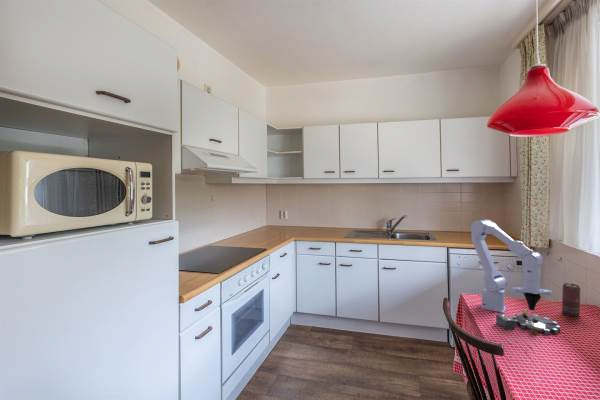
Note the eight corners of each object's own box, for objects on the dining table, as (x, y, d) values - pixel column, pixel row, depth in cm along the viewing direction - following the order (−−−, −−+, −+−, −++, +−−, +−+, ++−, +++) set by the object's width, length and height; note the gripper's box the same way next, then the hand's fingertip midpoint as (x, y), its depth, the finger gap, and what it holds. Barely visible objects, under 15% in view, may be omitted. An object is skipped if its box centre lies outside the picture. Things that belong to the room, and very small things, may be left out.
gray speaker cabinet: (514, 329, 128) (514, 320, 128) (505, 330, 128) (505, 320, 128) (505, 323, 134) (505, 314, 134) (496, 323, 134) (496, 314, 134)
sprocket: (534, 335, 123) (534, 325, 123) (504, 317, 139) (504, 309, 139) (570, 332, 124) (570, 323, 124) (536, 315, 140) (536, 307, 140)
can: (571, 311, 144) (572, 282, 144) (583, 317, 138) (584, 287, 137) (558, 311, 145) (559, 282, 144) (568, 317, 139) (569, 287, 138)
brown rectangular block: (531, 333, 125) (531, 327, 125) (531, 332, 126) (531, 326, 125) (537, 335, 123) (537, 329, 123) (537, 334, 124) (537, 328, 124)
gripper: (516, 281, 134) (515, 311, 135) (556, 284, 129) (555, 314, 130) (510, 276, 140) (510, 304, 141) (548, 278, 136) (547, 308, 137)
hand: (531, 309), depth 136 cm, fingers closed
